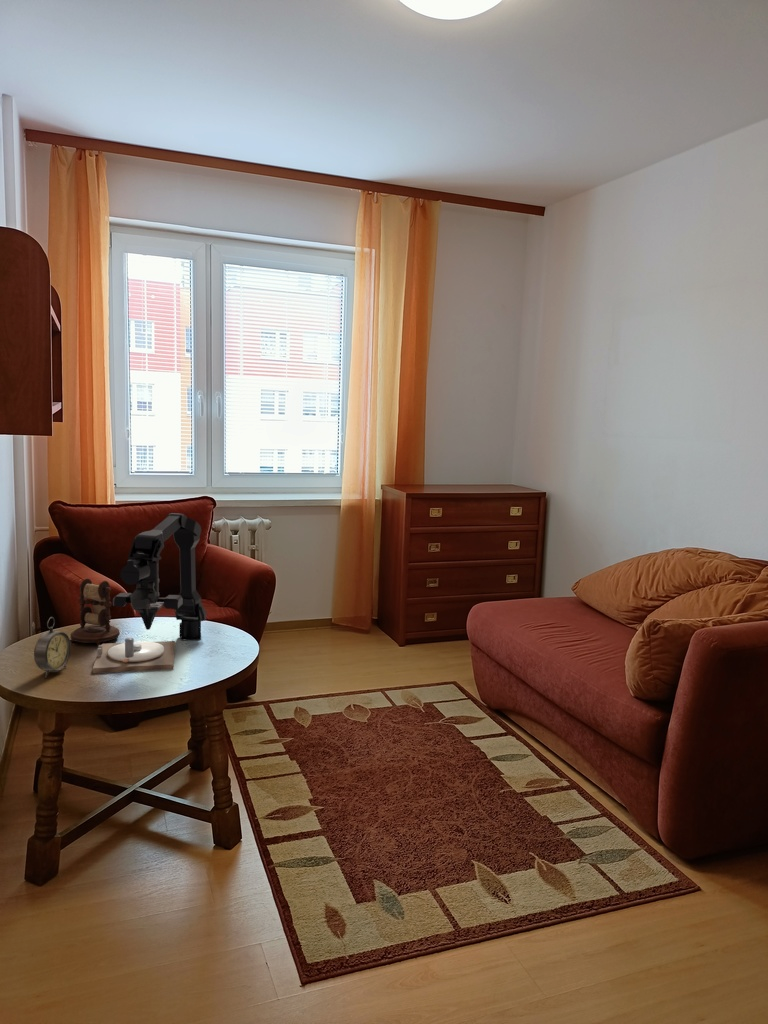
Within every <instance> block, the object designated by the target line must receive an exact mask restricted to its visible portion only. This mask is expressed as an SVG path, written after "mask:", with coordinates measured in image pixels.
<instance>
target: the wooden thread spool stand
mask: <svg viewBox="0 0 768 1024" xmlns="http://www.w3.org/2000/svg"><path fill="white" fill-rule="evenodd" d="M78 588H79V593H80V594H79V599H78V603H79V606H80V608H79V611H80V612H79V614H78V615H79V620H80V623H79V625H80V626H79V627H78V628H75V630H73V631H71V633H70V641H71V642H72V643H75V642H78V643H86V644H87V643H89V644H91V643H96V646H97V647H99V645H101V643H102V642H109V641H111V640H114V639H117V638H119V636H120V629H119V628H118V627H115V626H114V625H111V624H110V623H111V619H112V616H111V610H110V608H111V607H112V602H111V601H110V600H111V597H110V595H111V593H110V592H112V591H111V590H112V588H111V587H110V583H109V582H108V581H107V580H102V581H101V582H100V583H99V584H94V583H92V580H91V579H90V578H84V579H83V580H82V582H80V584H79V586H78ZM85 605H91V606H92V608H91V607H90V606H85ZM86 624H88V625H86Z"/></svg>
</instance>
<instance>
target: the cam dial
mask: <svg viewBox="0 0 768 1024" xmlns="http://www.w3.org/2000/svg"><path fill="white" fill-rule="evenodd" d="M155 642H156V641H144V640H143V641H142V640H141V641H139V640H137V641H135V639H134V637H126V638H124V642H121V643H122V644H118V645H115V646H113V647H111V648H110V649H109V650H108V656H109V657H110V658H111V659H113V660H117V661H123V662H138V661H146V660H150V659H154V658H157V657H159V656H161V655H162V654H163V653H164V647H163V645H161V644H159V643H155Z"/></svg>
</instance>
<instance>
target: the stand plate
mask: <svg viewBox="0 0 768 1024" xmlns="http://www.w3.org/2000/svg"><path fill="white" fill-rule="evenodd" d="M154 642H155V643H159V644H161V645H163V647H164V653H163V654H162V655H161V656H159V657H157V658H154V659H150V660H146V661H138V662H123V661H117V660H113V659H111V658H110V657H109V656H108V650H109V649H110V648H111V647H113V646H115V645H118V644H122V643H123V642H113V643H112V642H111V643H110V642H109V643H102V644H100V645H99V646H98V647H97V649H96V650H97V656H96V658H95V661H94V664H93V666H92V674H103V673H125V672H129V673H130V672H144V671H146V672H147V671H163V670H164V671H166V670H167V671H168V670H174V667H175V666H174V664H175V653H174V652H175V651H176V649H175V648H176V640H167V641H166V640H165V641H163V640H161V641H154Z"/></svg>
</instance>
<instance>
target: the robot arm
mask: <svg viewBox="0 0 768 1024" xmlns="http://www.w3.org/2000/svg"><path fill="white" fill-rule="evenodd" d="M201 534H202V526H201V525H200V524H199V522H198V521H196V520H194V519H191V518H190V517H187V516H186V515H185V514H184V513H178V512H177V513H175V512H171V513H168V515H167V516H166V518H165V519H163V520H162V521H161V522H160V523H158V524H157V525H156V526H155V527H154V528H152V529H151V530H147V531H142V532H141V533H140V532H139V533H138V534H137V535H136V536H135V538H134V539H133V541H132V544H131V547H130V550H129V553H128V555H127V559H128V560H126V565H124V566H123V567H122V569H121V571H120V579H121V581H122V582H123V583H124V584H126V585H129V586H134V585H135V590H134V591H133V593H132V592H120V593H118V594H117V595H115V596H114V597H113V598H112V606H113V607H115V608H116V607H119V608H122V607H123V608H124V607H125V606H126V605H127V604H131V608H132V610H133V611H136V612H138V614H139V615H140V617H141V619H142V623H143V624H144V626H145V629H146V631H147V630H151V628H152V625H153V622H154V619H155V617H156V616H157V613H158V612H159V610H161V609H162V608H163V607H164V608H165V609H168V610H174V613H175V619H176V621H178V620H179V621H181V622H179V637H180V640H181V639H195V640H202V622H204V621H206V618H207V614H208V613H207V610H206V609H205V607H204V606H203V604H202V597H201V595H200V593H199V592H198V590H197V584H196V582H197V581H196V580H197V579H196V577H197V575H196V572H197V571H196V547H197V545H198V543H199V541H200V540H201ZM172 535H173V541H174V543H175V544H176V545H177V547H178V549H179V572H180V574H179V576H180V577H179V578H180V580H179V581H180V592H179V593H178V594H168V595H167V596H166V597H160V595H161V594H160V592H159V584H160V582H161V581H160V580H161V579H160V578H159V560H162V556H161V555H160V554H161V552H162V550H163V549H164V548H165V544H164V543H165V542H166V541H167V540H168V539H169V538H170V537H172Z"/></svg>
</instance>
